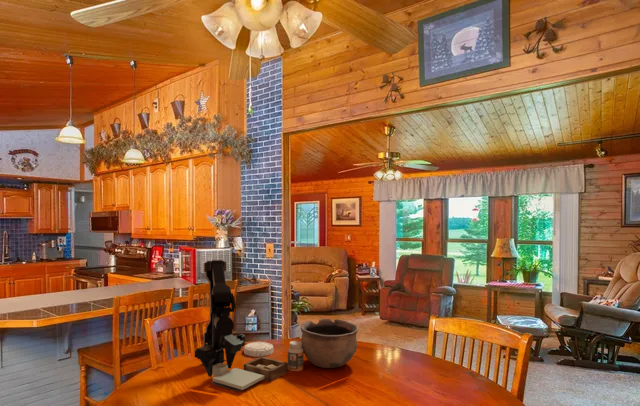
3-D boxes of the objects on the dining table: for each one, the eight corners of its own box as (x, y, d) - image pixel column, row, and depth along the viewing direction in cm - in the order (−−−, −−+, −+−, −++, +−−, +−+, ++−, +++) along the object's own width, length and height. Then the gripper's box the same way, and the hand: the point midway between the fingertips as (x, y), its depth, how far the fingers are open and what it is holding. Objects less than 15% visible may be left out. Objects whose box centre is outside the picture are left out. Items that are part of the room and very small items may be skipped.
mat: (210, 385, 140) (210, 383, 140) (231, 375, 149) (231, 373, 149) (237, 393, 134) (237, 391, 134) (257, 382, 142) (257, 380, 142)
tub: (243, 375, 148) (243, 364, 148) (261, 367, 157) (261, 356, 157) (270, 383, 142) (270, 371, 142) (287, 373, 151) (287, 362, 151)
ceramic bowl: (345, 353, 174) (345, 317, 175) (367, 372, 154) (367, 331, 154) (293, 358, 167) (294, 320, 168) (309, 378, 147) (310, 335, 147)
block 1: (254, 374, 149) (254, 367, 149) (258, 371, 151) (258, 364, 152) (261, 375, 148) (261, 368, 148) (265, 372, 150) (265, 365, 150)
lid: (203, 382, 141) (204, 369, 141) (226, 371, 150) (227, 359, 150) (242, 393, 132) (242, 380, 132) (264, 382, 142) (264, 369, 142)
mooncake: (238, 353, 173) (238, 344, 173) (262, 347, 181) (262, 339, 181) (254, 361, 164) (254, 351, 164) (279, 354, 172) (279, 345, 173)
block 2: (265, 373, 150) (265, 366, 150) (272, 371, 152) (272, 364, 152) (270, 375, 147) (270, 368, 148) (277, 373, 150) (277, 366, 150)
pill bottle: (301, 373, 152) (301, 345, 152) (285, 371, 153) (286, 344, 153) (304, 367, 157) (305, 341, 158) (289, 366, 158) (290, 339, 159)
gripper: (218, 337, 133) (217, 387, 133) (256, 324, 149) (255, 368, 149) (193, 331, 139) (192, 379, 138) (232, 319, 155) (232, 362, 154)
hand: (220, 372), depth 145 cm, fingers open, 9 cm apart
